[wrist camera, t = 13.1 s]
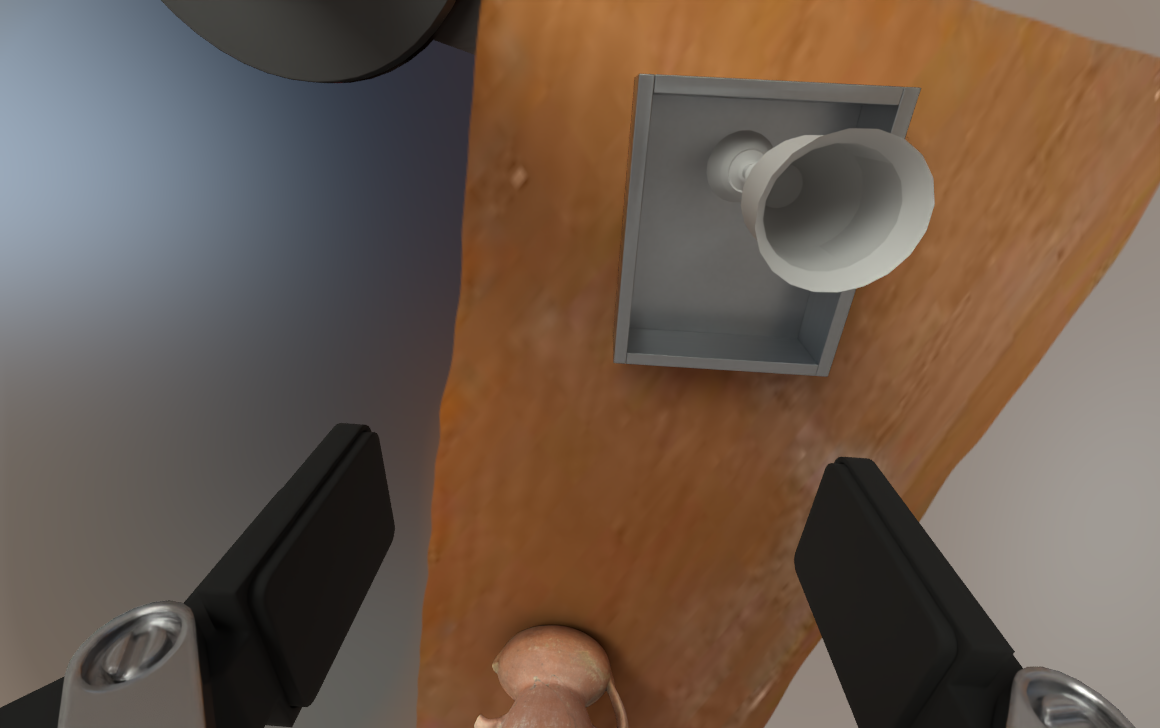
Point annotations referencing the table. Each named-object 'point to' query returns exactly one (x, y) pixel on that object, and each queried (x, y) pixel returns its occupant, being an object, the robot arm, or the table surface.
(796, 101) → the grey rectangular tray
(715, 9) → the table surface
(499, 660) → the ceramic jug
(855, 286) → the chalice
